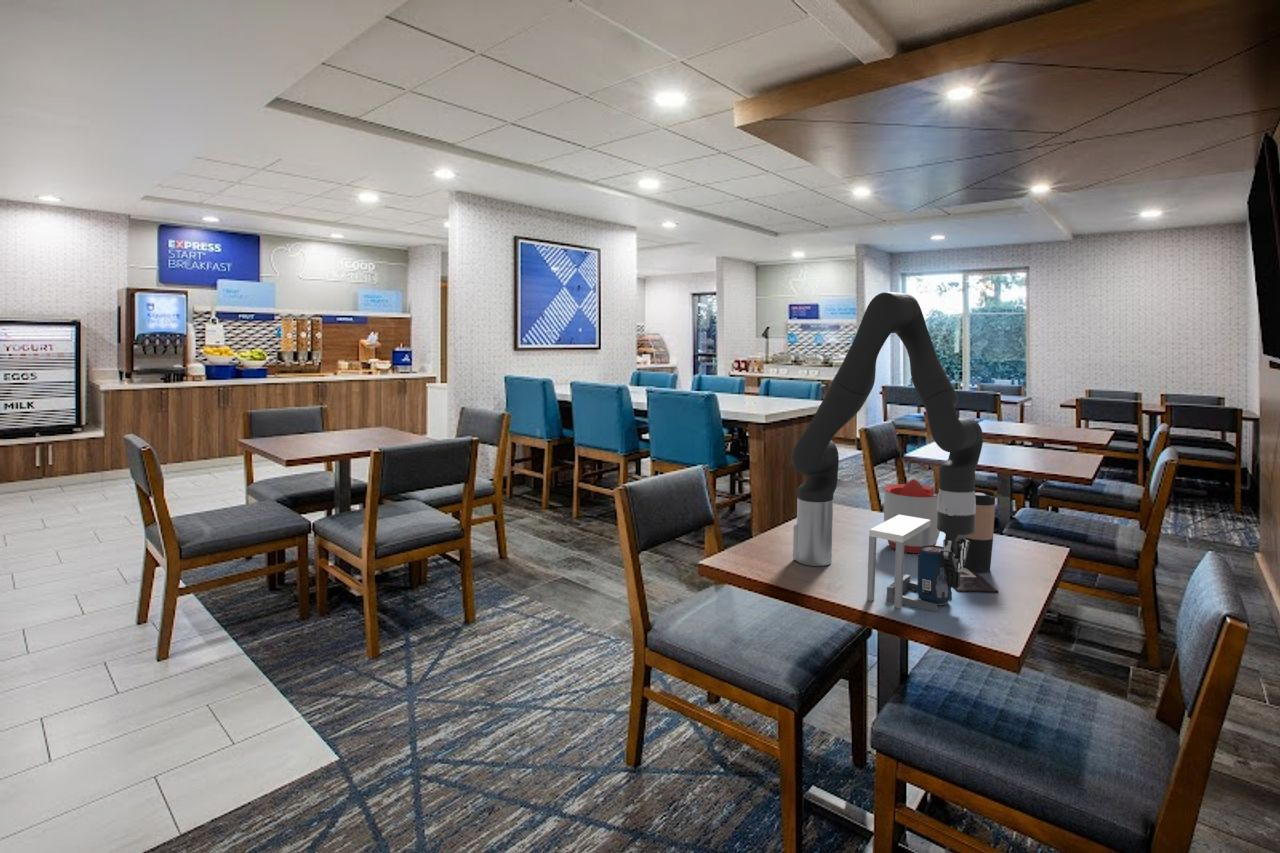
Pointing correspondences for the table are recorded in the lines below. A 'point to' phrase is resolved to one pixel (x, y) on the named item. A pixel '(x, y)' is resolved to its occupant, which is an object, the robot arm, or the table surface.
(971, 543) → the travel mug
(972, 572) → the chocolate bar
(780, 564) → the table surface
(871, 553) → the overhang shelf
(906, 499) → the citrus juicer
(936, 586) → the soda can
